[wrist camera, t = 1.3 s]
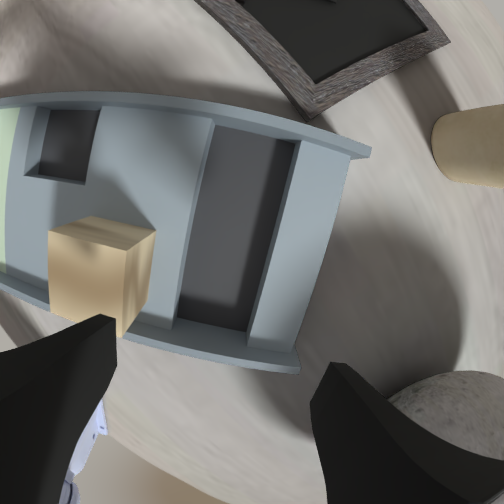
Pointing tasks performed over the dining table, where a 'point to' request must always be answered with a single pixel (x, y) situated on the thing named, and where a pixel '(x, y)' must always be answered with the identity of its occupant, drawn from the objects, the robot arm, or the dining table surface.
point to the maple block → (99, 270)
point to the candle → (471, 146)
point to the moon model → (459, 410)
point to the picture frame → (328, 42)
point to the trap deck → (179, 211)
